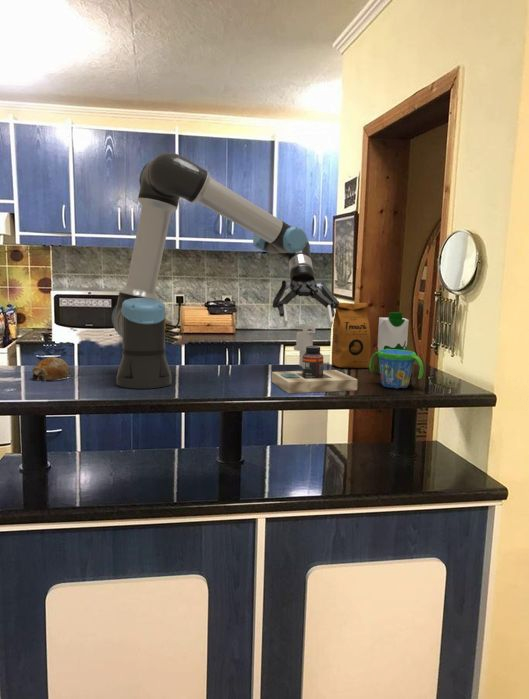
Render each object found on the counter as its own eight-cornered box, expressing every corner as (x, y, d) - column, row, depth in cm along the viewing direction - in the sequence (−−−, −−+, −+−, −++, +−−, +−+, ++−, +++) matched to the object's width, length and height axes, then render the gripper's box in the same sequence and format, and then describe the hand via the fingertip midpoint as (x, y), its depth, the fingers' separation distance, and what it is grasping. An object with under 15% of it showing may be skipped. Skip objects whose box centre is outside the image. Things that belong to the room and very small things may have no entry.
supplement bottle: (322, 384, 165) (324, 345, 163) (322, 388, 159) (324, 348, 157) (301, 383, 165) (303, 344, 164) (301, 387, 159) (302, 347, 158)
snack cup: (428, 388, 163) (430, 353, 161) (410, 393, 155) (412, 356, 153) (380, 380, 173) (382, 346, 171) (361, 385, 165) (363, 350, 164)
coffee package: (372, 369, 190) (375, 303, 187) (336, 369, 189) (338, 303, 186) (363, 364, 200) (366, 301, 197) (328, 364, 199) (331, 301, 195)
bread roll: (66, 393, 163) (78, 367, 163) (30, 380, 158) (43, 353, 158) (61, 386, 172) (73, 362, 172) (28, 373, 167) (39, 348, 167)
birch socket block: (288, 393, 152) (288, 381, 152) (271, 382, 166) (272, 370, 166) (357, 390, 158) (357, 378, 157) (335, 379, 172) (335, 368, 172)
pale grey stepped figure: (314, 367, 191) (316, 323, 189) (293, 367, 192) (295, 322, 189) (313, 364, 198) (314, 321, 196) (293, 363, 198) (294, 320, 196)
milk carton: (380, 377, 178) (383, 312, 175) (373, 371, 187) (376, 310, 184) (408, 377, 178) (411, 313, 175) (400, 372, 187) (403, 311, 184)
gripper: (337, 281, 187) (346, 332, 174) (261, 279, 184) (265, 331, 172) (342, 265, 181) (352, 316, 168) (263, 263, 178) (268, 315, 166)
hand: (308, 324), depth 170 cm, fingers open, 13 cm apart
